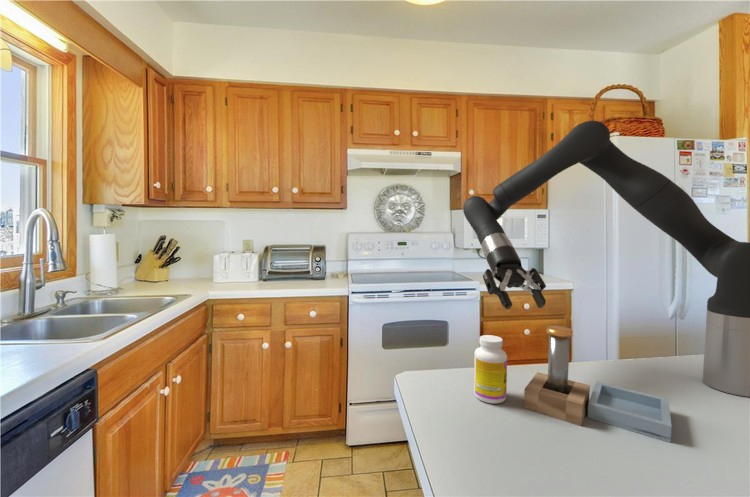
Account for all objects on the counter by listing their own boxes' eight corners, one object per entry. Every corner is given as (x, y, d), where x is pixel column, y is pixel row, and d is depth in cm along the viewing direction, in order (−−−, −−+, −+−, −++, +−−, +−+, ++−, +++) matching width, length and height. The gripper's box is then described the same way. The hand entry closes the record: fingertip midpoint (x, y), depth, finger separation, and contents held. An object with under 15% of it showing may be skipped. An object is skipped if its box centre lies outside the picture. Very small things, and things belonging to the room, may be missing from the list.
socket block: (536, 389, 76) (537, 372, 76) (589, 404, 70) (589, 385, 70) (524, 407, 68) (524, 388, 68) (581, 426, 62) (582, 404, 62)
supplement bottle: (508, 406, 69) (510, 344, 68) (475, 403, 70) (476, 342, 69) (503, 391, 75) (504, 334, 75) (472, 388, 77) (473, 332, 76)
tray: (595, 393, 74) (596, 381, 74) (667, 412, 67) (668, 398, 66) (587, 417, 65) (588, 403, 65) (670, 442, 57) (671, 426, 57)
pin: (547, 398, 72) (549, 324, 71) (571, 405, 69) (574, 328, 69) (541, 406, 69) (544, 329, 68) (567, 414, 66) (570, 333, 65)
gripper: (480, 244, 85) (504, 299, 75) (531, 244, 88) (561, 296, 77) (470, 263, 91) (491, 316, 80) (518, 262, 93) (545, 313, 83)
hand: (526, 306), depth 79 cm, fingers open, 8 cm apart
